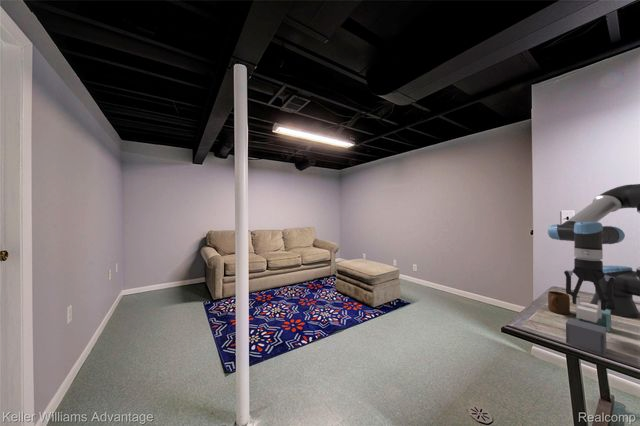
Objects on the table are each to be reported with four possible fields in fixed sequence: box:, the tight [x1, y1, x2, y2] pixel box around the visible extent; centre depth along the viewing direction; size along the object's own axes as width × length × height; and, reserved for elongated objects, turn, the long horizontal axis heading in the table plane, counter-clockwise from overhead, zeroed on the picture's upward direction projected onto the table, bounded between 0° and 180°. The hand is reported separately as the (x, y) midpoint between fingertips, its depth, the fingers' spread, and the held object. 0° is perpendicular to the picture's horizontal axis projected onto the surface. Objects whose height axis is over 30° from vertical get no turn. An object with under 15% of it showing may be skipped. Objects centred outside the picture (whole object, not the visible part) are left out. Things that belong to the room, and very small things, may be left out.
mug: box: [547, 290, 571, 316], centre depth 113 cm, size 12×8×9 cm, turn 118°
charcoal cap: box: [565, 317, 608, 356], centre depth 85 cm, size 7×9×8 cm
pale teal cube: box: [575, 309, 612, 333], centre depth 100 cm, size 7×9×8 cm
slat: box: [577, 301, 598, 323], centre depth 92 cm, size 12×5×4 cm, turn 124°
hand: (588, 314), depth 92 cm, fingers closed on slat, 5 cm apart
